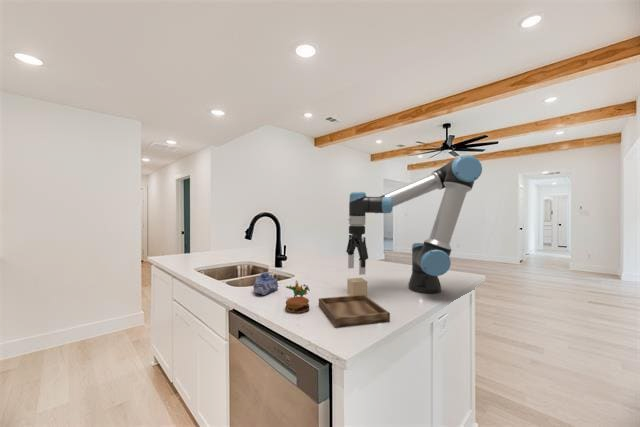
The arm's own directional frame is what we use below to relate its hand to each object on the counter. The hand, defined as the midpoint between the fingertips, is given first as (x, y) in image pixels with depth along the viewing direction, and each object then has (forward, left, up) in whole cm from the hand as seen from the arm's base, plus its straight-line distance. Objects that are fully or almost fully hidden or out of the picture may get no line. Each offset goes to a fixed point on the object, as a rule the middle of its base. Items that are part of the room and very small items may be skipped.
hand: (356, 271), depth 126 cm
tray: (+11, +21, -11) cm, 26 cm away
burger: (+30, +12, -11) cm, 34 cm away
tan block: (0, 0, -11) cm, 11 cm away
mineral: (+41, -15, -11) cm, 45 cm away
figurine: (+28, -1, -11) cm, 30 cm away
